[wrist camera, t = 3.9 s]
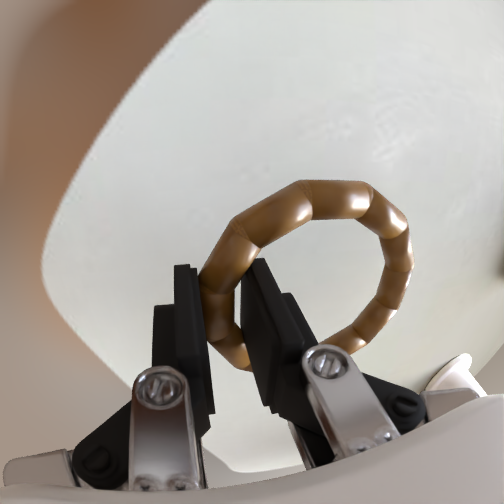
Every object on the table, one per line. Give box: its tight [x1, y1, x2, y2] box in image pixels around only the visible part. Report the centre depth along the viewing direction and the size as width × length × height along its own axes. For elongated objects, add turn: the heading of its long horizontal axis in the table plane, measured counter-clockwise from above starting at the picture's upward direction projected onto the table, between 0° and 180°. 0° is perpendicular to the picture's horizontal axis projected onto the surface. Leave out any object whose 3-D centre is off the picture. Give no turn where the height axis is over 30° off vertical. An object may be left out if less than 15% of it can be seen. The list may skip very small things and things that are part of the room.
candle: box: [425, 354, 487, 397], centre depth 16 cm, size 7×7×25 cm
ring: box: [198, 180, 414, 372], centre depth 11 cm, size 8×8×1 cm
